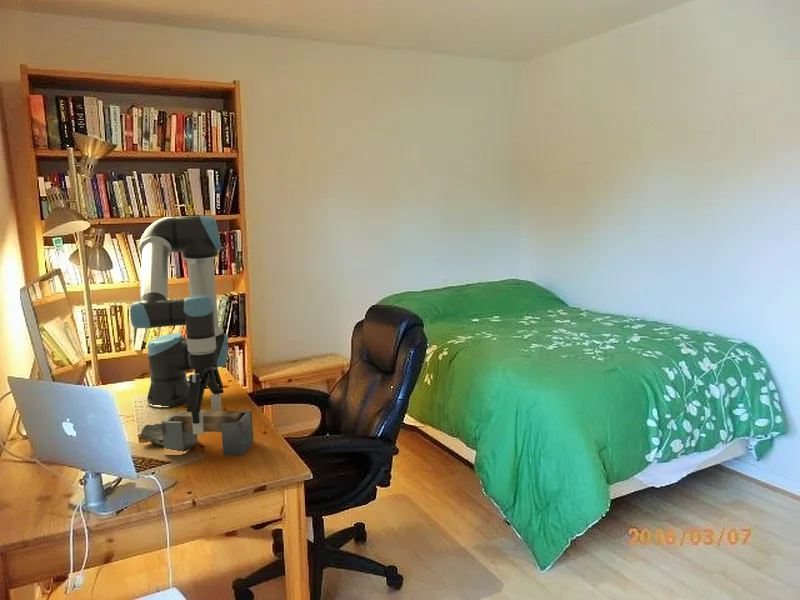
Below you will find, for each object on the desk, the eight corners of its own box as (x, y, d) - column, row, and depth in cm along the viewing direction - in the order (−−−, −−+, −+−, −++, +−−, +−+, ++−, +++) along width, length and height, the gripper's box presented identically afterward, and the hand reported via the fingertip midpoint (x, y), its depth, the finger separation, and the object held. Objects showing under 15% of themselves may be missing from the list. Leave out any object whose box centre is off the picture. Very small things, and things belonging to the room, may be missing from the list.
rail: (174, 431, 170) (172, 416, 169) (181, 425, 174) (179, 410, 174) (237, 431, 169) (235, 416, 168) (242, 425, 173) (241, 410, 172)
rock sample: (160, 439, 170) (152, 413, 175) (142, 454, 172) (135, 428, 177) (189, 442, 179) (181, 417, 183) (172, 457, 181) (164, 432, 185)
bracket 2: (235, 442, 177) (232, 410, 175) (253, 442, 176) (251, 411, 175) (223, 455, 168) (220, 423, 166) (243, 455, 167) (240, 423, 166)
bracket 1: (179, 441, 178) (176, 410, 177) (197, 441, 178) (195, 410, 176) (164, 455, 169) (161, 422, 167) (184, 455, 169) (181, 422, 167)
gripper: (206, 340, 180) (211, 408, 184) (168, 363, 156) (176, 441, 159) (231, 340, 180) (236, 408, 183) (197, 363, 155) (203, 442, 159)
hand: (208, 424), depth 171 cm, fingers open, 13 cm apart
